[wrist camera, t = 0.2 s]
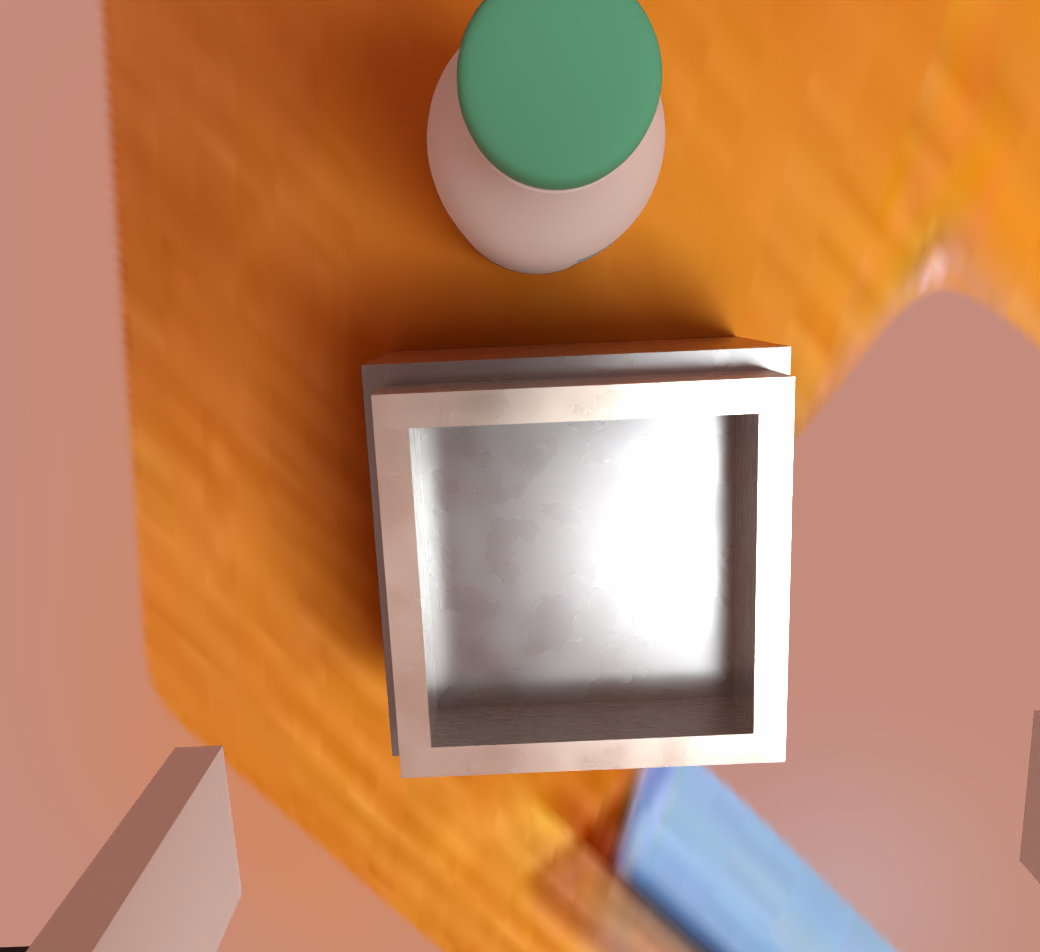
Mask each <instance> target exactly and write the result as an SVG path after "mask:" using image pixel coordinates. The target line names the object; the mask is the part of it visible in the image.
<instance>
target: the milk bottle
mask: <svg viewBox="0 0 1040 952" xmlns="http://www.w3.org/2000/svg"><path fill="white" fill-rule="evenodd" d="M661 85H662V62H661V55H660V49H659V45H658V41H657V37H656V35H655V32H654V29H653V27H652V25H651V23H650V21H649V19H648V17H647V15H646V13H645V12H644V10H643V8H642V7H641V5H640V4H639V3H638V1H637V0H484V1H483V2H482V3H481V4H480V6H479V7H478V8H477V10H476V11H475V13H474V14H473V16H472V18H471V20H470V21H469V24H468V26H467V28H466V30H465V33H464V36H463V38H462V41H461V45H460V48H459V49H458V50H457V51H456V53H455V54H454V55H453V57H452V58H451V60H450V61H449V62H448V64H447V66H446V68H445V69H444V71H443V73H442V75H441V77H440V79H439V81H438V84H437V86H436V89H435V92H434V95H433V98H432V102H431V106H430V111H429V118H428V125H427V153H428V160H429V166H430V170H431V174H432V177H433V180H434V184H435V187H436V189H437V192H438V194H439V197H440V199H441V201H442V204H443V205H444V207H445V209H446V211H447V213H448V214H449V216H450V217H451V219H452V220H453V222H454V223H455V225H456V226H457V228H458V229H459V230H460V232H461V233H462V234H463V235H464V237H465V238H466V239H467V240H468V241H469V243H470V244H471V245H472V246H473V247H474V248H475V249H476V250H477V251H478V252H479V253H481V254H482V255H483V256H484V257H486V258H487V259H489V260H490V261H492V262H493V263H495V264H497V265H499V266H501V267H504V268H506V269H509V270H512V271H515V272H520V273H525V274H547V273H554V272H558V271H562V270H565V269H568V268H570V267H572V266H574V265H577V264H579V263H581V262H583V261H585V260H587V259H589V258H590V257H592V256H594V255H596V254H597V253H599V252H601V251H602V250H604V249H605V248H606V247H608V246H609V245H611V244H612V243H613V242H614V241H615V240H617V239H618V238H619V237H620V236H621V235H622V234H623V233H624V232H625V231H626V230H627V229H628V228H629V227H630V226H631V225H632V223H633V222H634V221H635V220H636V218H637V217H638V216H639V215H640V213H641V212H642V210H643V209H644V207H645V205H646V204H647V202H648V200H649V198H650V196H651V194H652V192H653V190H654V187H655V185H656V182H657V179H658V176H659V172H660V169H661V165H662V160H663V155H664V148H665V117H664V111H663V105H662V101H661V97H660V93H661Z"/></svg>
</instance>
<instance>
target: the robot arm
mask: <svg viewBox="0 0 1040 952" xmlns="http://www.w3.org/2000/svg"><path fill="white" fill-rule="evenodd" d="M1023 822H1024V823H1023V832H1022V842H1021V853H1020V861H1021V863H1022V864H1023V865H1024V866H1025V867H1026V868H1027V869H1028V870H1029V872H1031V874H1032V875H1033V876H1034V877H1035V878H1036V879H1037V881H1038V882H1039V883H1040V711H1034V719H1033V729H1032V739H1031V749H1030V759H1029V770H1028V780H1027V791H1026V801H1025V812H1024V821H1023ZM241 895H242V890H241V882H240V875H239V867H238V860H237V852H236V844H235V836H234V829H233V821H232V813H231V806H230V798H229V790H228V782H227V775H226V767H225V759H224V751H223V746H202V747H180V748H175V749H174V750H173V752H172V753H171V754H170V756H169V757H168V758H167V760H166V761H165V763H164V764H163V765H162V767H161V768H160V769H159V771H158V772H157V773H156V775H155V776H154V778H153V779H152V780H151V782H150V783H149V784H148V786H147V787H146V788H145V790H144V791H143V793H142V794H141V795H140V797H139V798H138V799H137V801H136V802H135V803H134V805H133V806H132V808H131V809H130V810H129V812H128V813H127V814H126V816H125V817H124V819H123V820H122V821H121V823H120V824H119V825H118V827H117V828H116V830H115V831H114V832H113V834H112V835H111V836H110V838H109V839H108V841H107V842H106V843H105V844H104V846H103V847H102V849H101V850H100V851H99V853H98V854H97V855H96V857H95V858H94V859H93V861H92V862H91V864H90V865H89V866H88V868H87V869H86V871H85V872H84V873H83V875H82V876H81V877H80V879H79V880H78V881H77V883H76V884H75V885H74V887H73V888H72V889H71V891H70V892H69V894H68V895H67V896H66V898H65V899H64V901H63V902H62V903H61V905H60V906H59V907H58V909H57V910H56V911H55V913H54V914H53V915H52V917H51V918H50V919H49V921H48V922H47V924H46V925H45V926H44V928H43V929H42V930H41V932H40V933H39V935H38V936H37V937H36V939H35V940H34V941H33V943H32V944H31V945H30V946H29V947H28V946H26V947H3V948H0V952H216V951H217V949H218V946H219V944H220V942H221V940H222V937H223V935H224V933H225V930H226V929H227V926H228V924H229V922H230V920H231V917H232V915H233V913H234V910H235V908H236V906H237V904H238V902H239V899H240V897H241Z"/></svg>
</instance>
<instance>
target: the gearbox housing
mask: <svg viewBox="0 0 1040 952" xmlns="http://www.w3.org/2000/svg"><path fill="white" fill-rule="evenodd" d="M790 363H791V347H790V346H785V345H780V344H774V343H769V342H764V341H758V340H753V339H748V338H743V337H737V336H729V337H706V338H683V339H660V340H637V341H613V342H590V343H567V344H544V345H521V346H498V347H474V348H451V349H428V350H405V351H390V352H388V353H386V354H384V355H382V356H379V357H377V358H375V359H373V360H371V361H369V362H367V363H364V364H362V365H361V373H362V385H363V397H364V410H365V422H366V434H367V447H368V459H369V471H370V484H371V496H372V508H373V521H374V533H375V545H376V558H377V570H378V582H379V595H380V607H381V620H382V632H383V644H384V657H385V669H386V681H387V694H388V706H389V718H390V731H391V743H392V755H393V756H400V769H401V778H416V777H439V776H463V775H486V774H509V773H533V772H556V771H580V770H603V769H626V768H650V767H673V766H696V765H717V764H718V765H719V764H741V763H766V762H785V753H786V751H785V750H786V711H787V673H788V634H789V633H788V632H789V593H790V555H791V554H790V553H791V513H792V475H793V474H792V473H793V436H794V396H795V377H794V376H791V375H790Z"/></svg>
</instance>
